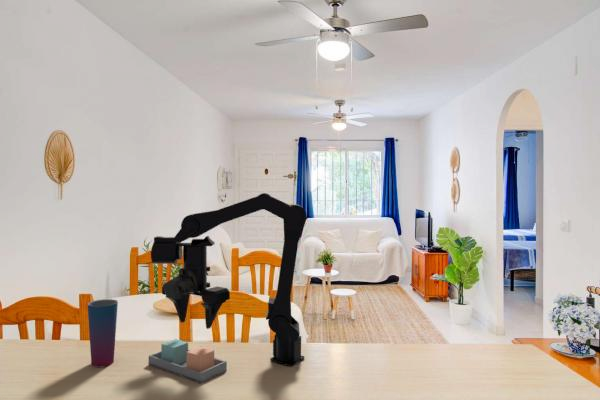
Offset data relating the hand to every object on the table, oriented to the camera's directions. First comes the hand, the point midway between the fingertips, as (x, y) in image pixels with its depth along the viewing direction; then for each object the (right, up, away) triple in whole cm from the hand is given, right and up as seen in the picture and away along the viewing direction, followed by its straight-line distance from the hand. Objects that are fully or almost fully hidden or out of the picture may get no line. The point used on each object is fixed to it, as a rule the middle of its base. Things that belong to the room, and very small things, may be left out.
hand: (195, 325), depth 111 cm
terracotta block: (+3, -9, -7) cm, 12 cm away
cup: (-22, -9, -3) cm, 24 cm away
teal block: (-4, -8, -2) cm, 10 cm away
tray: (-1, -9, -5) cm, 10 cm away
